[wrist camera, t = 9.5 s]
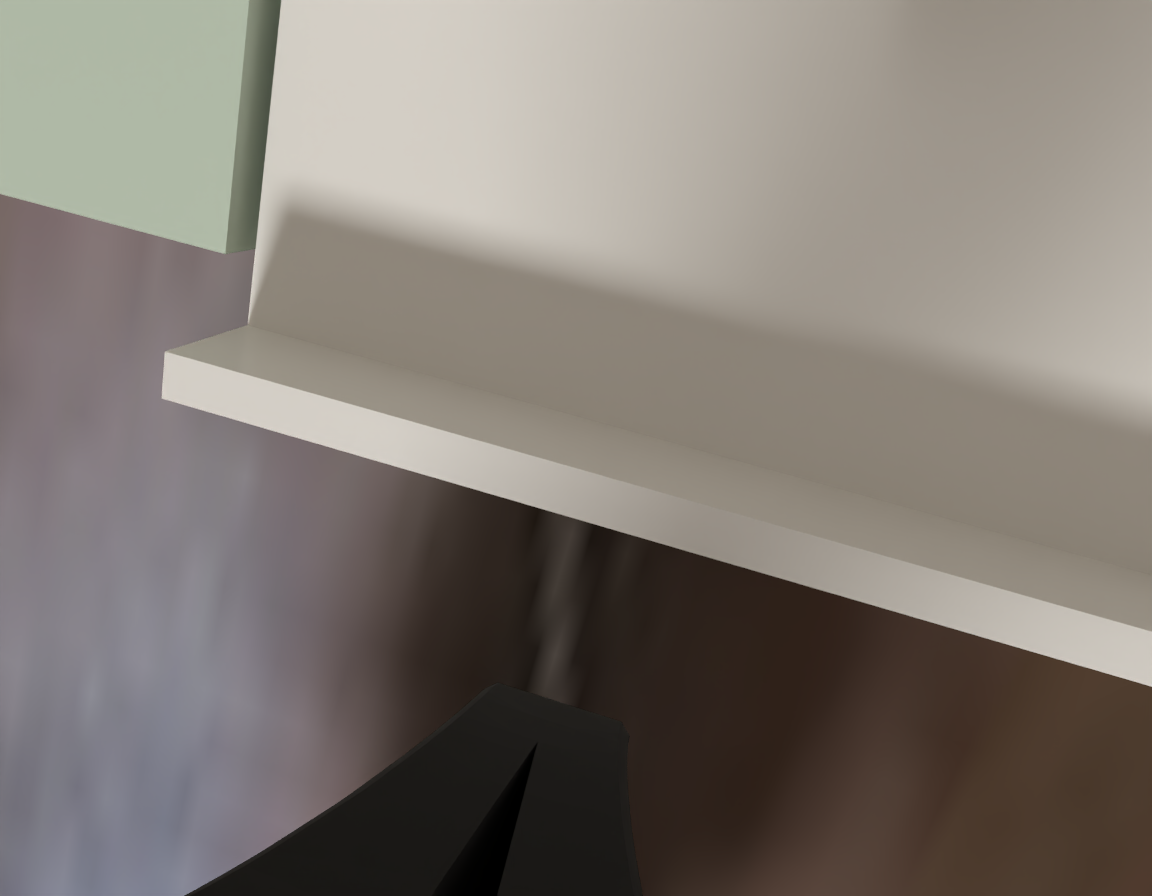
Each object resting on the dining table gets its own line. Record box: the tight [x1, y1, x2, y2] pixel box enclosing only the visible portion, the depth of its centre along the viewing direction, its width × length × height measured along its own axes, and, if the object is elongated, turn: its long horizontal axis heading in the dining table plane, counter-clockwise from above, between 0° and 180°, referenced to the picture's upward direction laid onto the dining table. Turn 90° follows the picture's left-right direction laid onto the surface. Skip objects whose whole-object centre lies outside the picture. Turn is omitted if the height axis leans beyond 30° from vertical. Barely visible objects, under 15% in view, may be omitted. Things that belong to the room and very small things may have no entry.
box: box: [162, 0, 1152, 686], centre depth 14 cm, size 12×21×4 cm, turn 78°
